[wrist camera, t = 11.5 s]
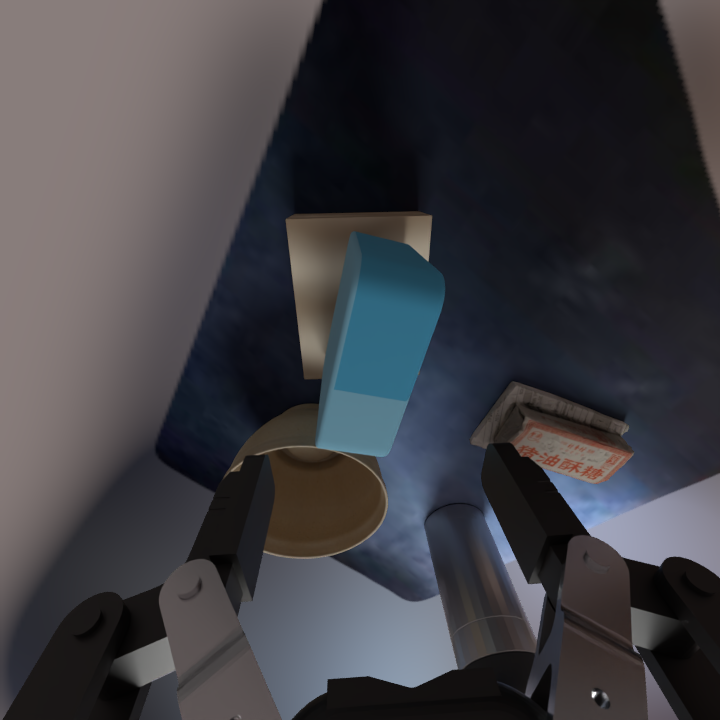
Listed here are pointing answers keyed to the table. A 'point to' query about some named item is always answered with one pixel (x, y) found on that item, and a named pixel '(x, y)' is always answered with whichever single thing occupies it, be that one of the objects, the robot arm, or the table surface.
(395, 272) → the blue product box
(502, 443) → the robot arm
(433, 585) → the table surface
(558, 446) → the packaged product
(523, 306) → the table surface
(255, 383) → the table surface
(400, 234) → the stand
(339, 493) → the planter bowl
